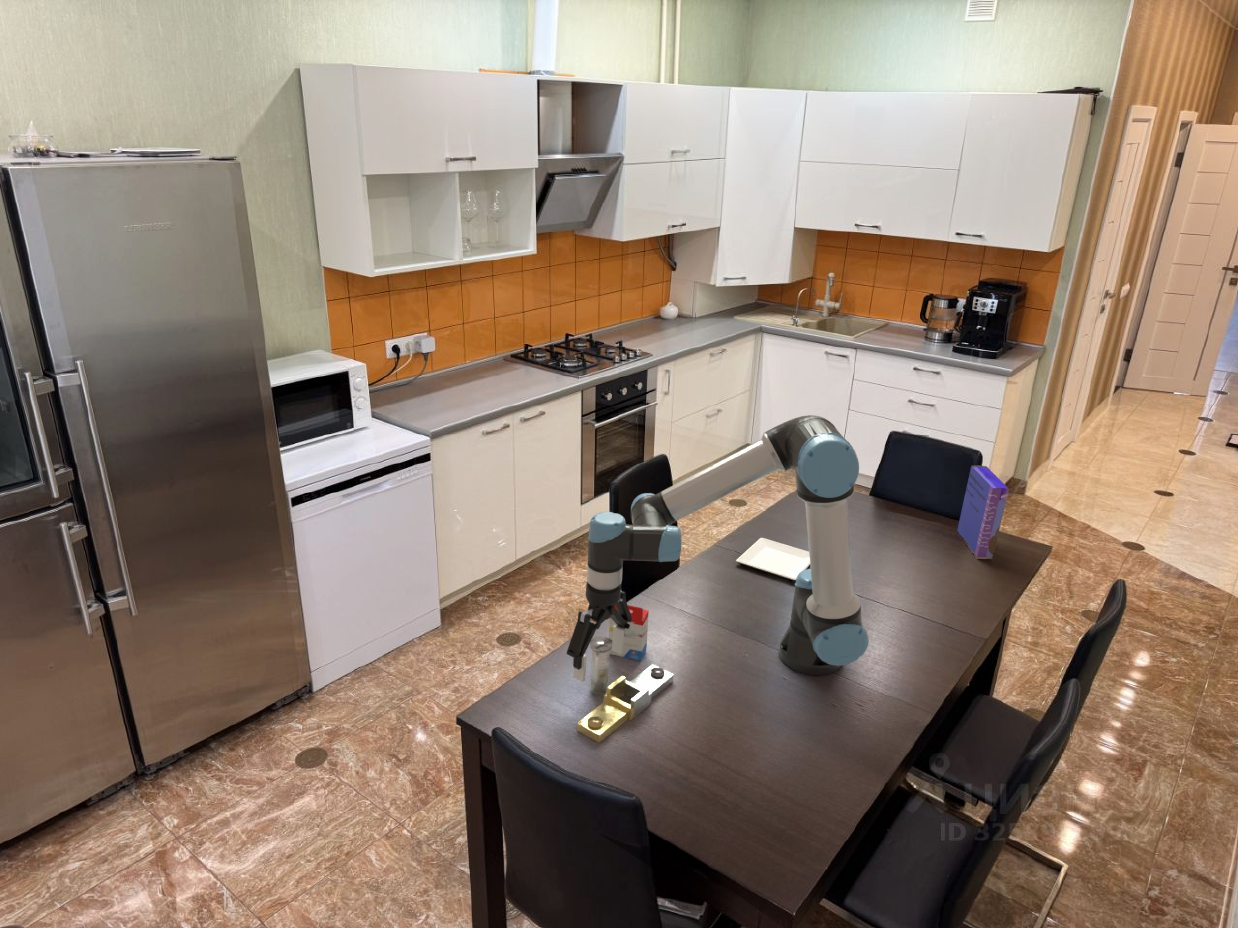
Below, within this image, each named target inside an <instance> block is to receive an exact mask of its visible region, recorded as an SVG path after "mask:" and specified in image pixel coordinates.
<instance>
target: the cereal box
mask: <svg viewBox="0 0 1238 928" xmlns="http://www.w3.org/2000/svg"><path fill="white" fill-rule="evenodd" d="M968 474H969V476H968V479H967V485H966V489H965V494H964V499H963V502H962V508H961V510H960V511H961V512H960V517H959V521H958V524H957V525H958V526H957V530H956V532H957V531H958V532H959V534H960V535H961V536H962V537H963V538H964V540H965V541H966V542H967V543H968V545H969V546H970V548H971V549H972V550H973V552H974V553H975V554H976V556H977V557H993V558H994V553H995V550H996V545H997V542H998V538H999V534H1000V533H999V532H1000V529H1001V525H1002V520H1003V516H1004V513H1005V507H1006V504H1007V499H1008V494H1009V491H1010V489H1009V487H1008V486H1007V485H1006V484H1005V483H1004V482H1003V481H1002V480H1001V479H1000V478H999V477H998V476H997V475H996V474H995V473H994V472H993V471H992V470H991V469H990V468H989V467H988V466H987V465H979V464H978V465H977V464H975V465H971V466H970V471H969V473H968Z"/></svg>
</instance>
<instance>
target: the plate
mask: <svg viewBox="0 0 1238 928" xmlns="http://www.w3.org/2000/svg"><path fill="white" fill-rule="evenodd" d="M735 562H736V563H738V564H741V565H744V566H747V567H750V568H753V569H757V570H759V571H762V572H765V573H768V574H773V575H775V576H778V577H781V578H785V579H788V580H792V581H795V582H796V580H797V576H798V574H799V573H800V572H801V571H804V570H806V569H808V567H809V566H810V556H809V550H805V549H801V548H799V547H795V546H791V545H788V544H785V543H782V542H778V541H775V540H772V539H768V538H765V537H760V538H759V539H758V540H757V541H755V542H754V543H753V544H752V545H751V546H750V547H749V548H748V549H747V550H745V551H744V553H742V554H741V555H740V556H739V557H738V558H737V559H735Z"/></svg>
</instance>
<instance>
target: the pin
mask: <svg viewBox="0 0 1238 928" xmlns="http://www.w3.org/2000/svg"><path fill="white" fill-rule="evenodd" d="M589 648H590V649H591V657H590V658H591V661H590V663H591V664H590V684H589V686H590V687H589V692H590V693H591V694H592V695H593V696H597V697H600V696H601V697H602V696H603V697H604V695H605V694H606V693H607V687H608V686H609V675H610V655H611V654H610V650H611V648H612V640H611V639H609V637H607V636H603V635H601V636H600V635H599V636H593V637H592V639H591V641H590V643H589Z"/></svg>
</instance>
